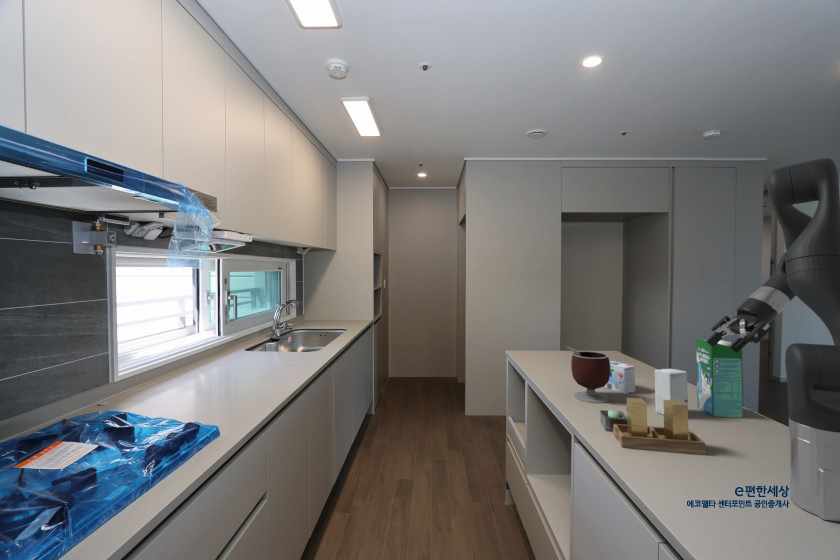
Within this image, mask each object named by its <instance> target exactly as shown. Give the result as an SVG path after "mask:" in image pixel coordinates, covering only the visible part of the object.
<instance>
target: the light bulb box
mask: <svg viewBox="0 0 840 560" xmlns="http://www.w3.org/2000/svg"><path fill="white" fill-rule="evenodd" d="M609 361H610V378H609V381H608V383H607V384H606V385H605V386H604V387H603V389H607V390H610V389H611V390H610V391H613V392H617V393H621V394H623V393H624V395H627V394H630V392H631V393H635V392H636V366H635V365H633V364H628V363H623V362H621V361H614V360H609Z"/></svg>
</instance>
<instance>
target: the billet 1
mask: <svg viewBox="0 0 840 560" xmlns="http://www.w3.org/2000/svg"><path fill="white" fill-rule="evenodd" d="M647 404H648V403H647V402H646V401H645V400H644V399H643V398H641V397H639V398H638V397H626V417H627V435H628V436H634V437H647V438H648V436H647V426H648V405H647Z"/></svg>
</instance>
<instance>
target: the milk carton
mask: <svg viewBox="0 0 840 560" xmlns="http://www.w3.org/2000/svg"><path fill="white" fill-rule="evenodd" d="M695 340H696V341H695V343H696V379H697V380H696V384H697V385H696V388H697V389H696V391H697V395H696V396H697V407H698V408H699V409H701V410H702V411H704V412H706V413H707V414H708V415H710V416H711V417H715V416H716V417H717V418H718V417H719V418H740V419H744V418H745V417H744V415H745V414H744V379H743V377H744V374H743V373H744V372H743V370H744V369H743V368H744V367H743V348H742V349H741V350H740V351H739V352H737V353H736V352H733V351H732V350H731V349H730V348H729V346H730V345H731V344H732V343H733V342H730V341H726V340H722V339H721V340H720V341H719V342H718V343H717V344H716V345H715V346H714V347H713V346H710V345H709V344H708V343H707V340H708V339H703V338H700V337H699V338H698V337H696V338H695ZM742 407H743V408H742Z"/></svg>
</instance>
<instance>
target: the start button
mask: <svg viewBox="0 0 840 560" xmlns="http://www.w3.org/2000/svg"><path fill="white" fill-rule="evenodd" d="M607 411H608V417H620V413H619V412H618V411H619V410H615V409H610V410H607Z"/></svg>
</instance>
